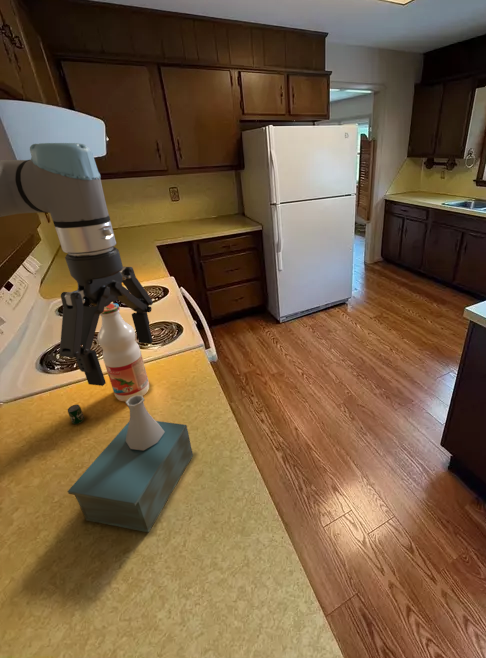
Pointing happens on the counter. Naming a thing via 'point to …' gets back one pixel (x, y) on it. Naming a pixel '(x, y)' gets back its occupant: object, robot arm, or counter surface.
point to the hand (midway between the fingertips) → (124, 361)
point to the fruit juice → (122, 355)
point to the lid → (126, 467)
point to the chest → (151, 499)
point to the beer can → (75, 414)
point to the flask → (141, 425)
